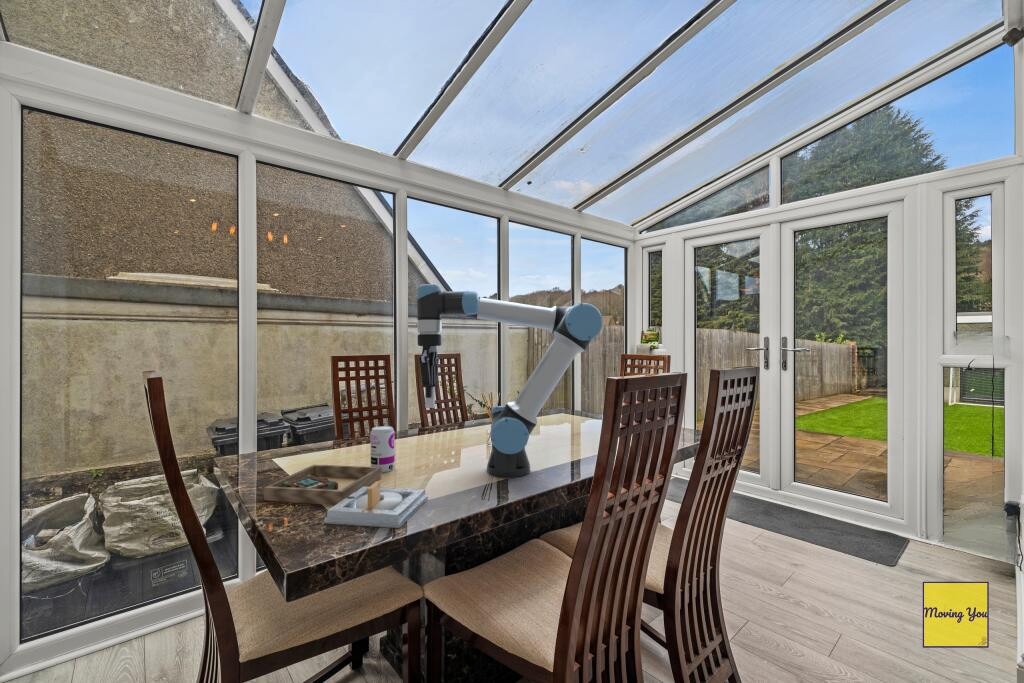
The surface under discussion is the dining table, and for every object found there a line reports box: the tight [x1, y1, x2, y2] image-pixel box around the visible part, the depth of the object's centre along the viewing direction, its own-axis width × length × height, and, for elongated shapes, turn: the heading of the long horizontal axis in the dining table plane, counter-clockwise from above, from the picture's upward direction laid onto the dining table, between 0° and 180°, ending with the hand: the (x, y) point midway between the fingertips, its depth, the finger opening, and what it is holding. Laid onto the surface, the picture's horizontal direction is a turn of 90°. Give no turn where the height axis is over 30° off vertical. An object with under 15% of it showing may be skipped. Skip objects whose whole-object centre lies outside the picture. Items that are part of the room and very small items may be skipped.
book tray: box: [263, 463, 383, 506], centre depth 142 cm, size 24×24×4 cm
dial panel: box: [323, 486, 429, 529], centre depth 125 cm, size 20×20×3 cm
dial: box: [356, 480, 402, 510], centre depth 124 cm, size 13×12×7 cm
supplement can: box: [369, 425, 396, 473], centre depth 163 cm, size 8×8×15 cm
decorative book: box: [282, 475, 339, 490], centre depth 140 cm, size 13×18×5 cm
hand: (430, 407), depth 147 cm, fingers closed
